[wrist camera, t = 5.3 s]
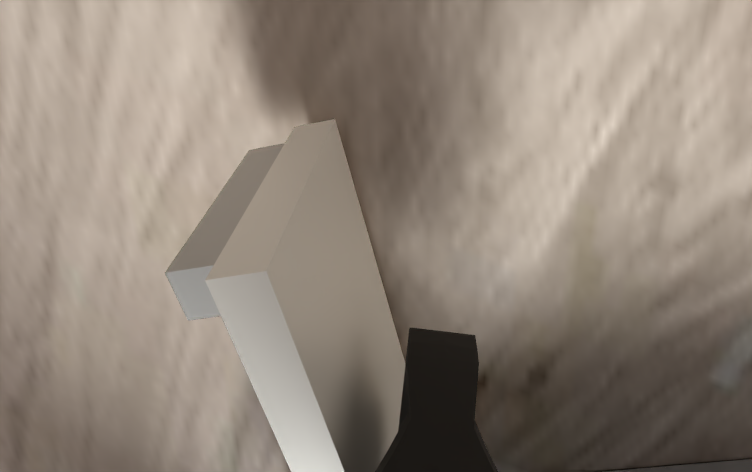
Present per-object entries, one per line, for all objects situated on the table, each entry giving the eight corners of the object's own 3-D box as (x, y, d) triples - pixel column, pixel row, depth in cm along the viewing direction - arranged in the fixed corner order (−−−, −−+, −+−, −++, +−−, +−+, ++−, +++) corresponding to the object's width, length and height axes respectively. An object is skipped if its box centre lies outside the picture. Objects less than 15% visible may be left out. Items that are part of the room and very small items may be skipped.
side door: (438, 478, 17) (431, 695, 12) (378, 482, 17) (352, 694, 13) (334, 119, 12) (266, 271, 8) (254, 134, 12) (146, 289, 8)
